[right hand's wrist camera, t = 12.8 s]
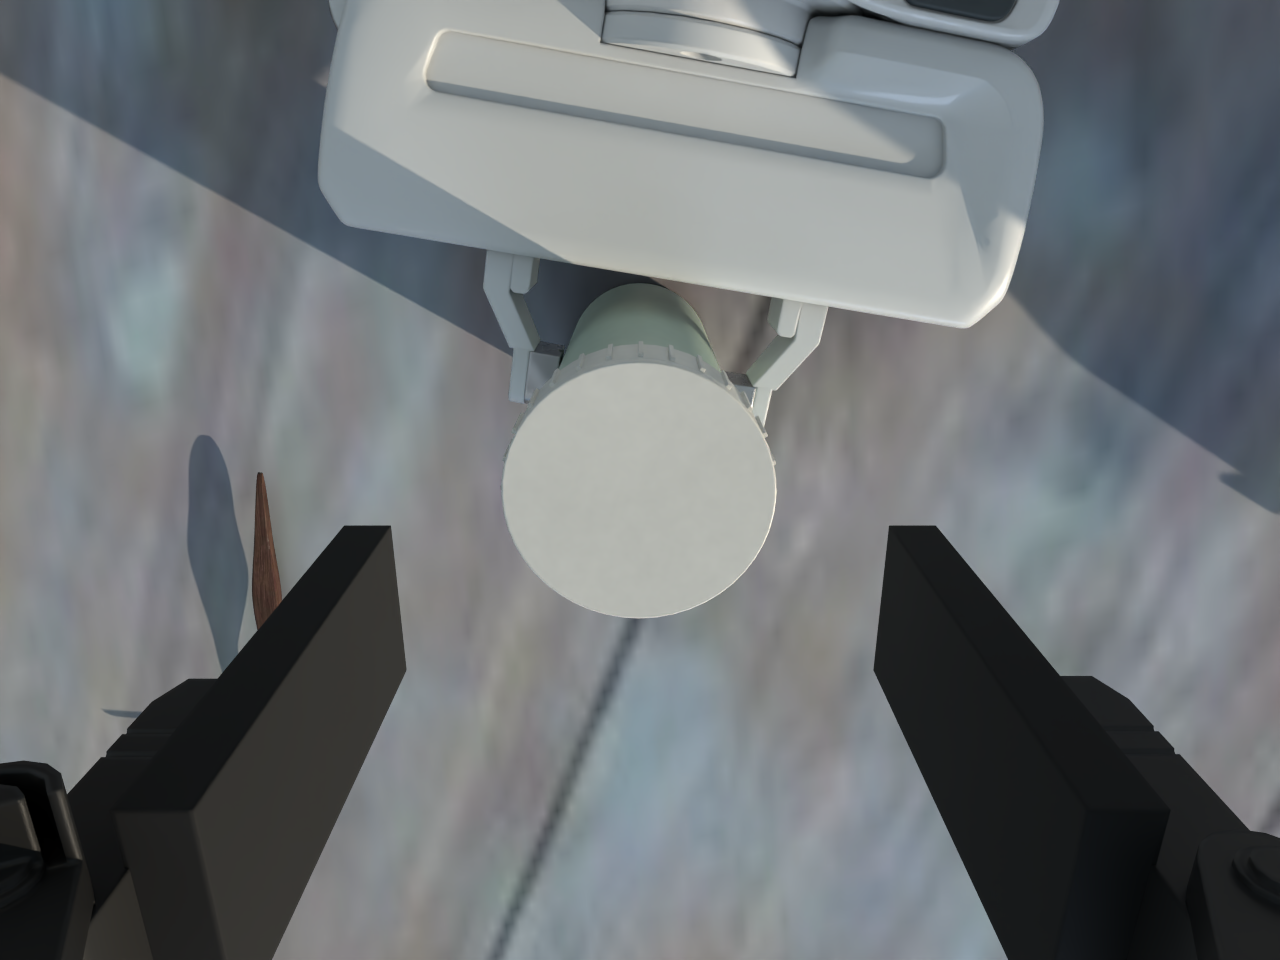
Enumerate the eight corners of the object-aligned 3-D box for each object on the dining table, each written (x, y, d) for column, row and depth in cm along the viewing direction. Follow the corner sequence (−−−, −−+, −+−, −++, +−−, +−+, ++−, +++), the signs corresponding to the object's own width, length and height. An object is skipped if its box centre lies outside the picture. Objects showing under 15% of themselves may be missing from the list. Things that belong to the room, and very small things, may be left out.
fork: (298, 471, 35) (278, 488, 33) (309, 787, 40) (293, 817, 38) (233, 465, 35) (210, 482, 33) (253, 783, 40) (234, 813, 38)
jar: (717, 292, 33) (777, 389, 18) (696, 424, 34) (736, 608, 20) (578, 274, 32) (529, 359, 18) (565, 408, 34) (511, 582, 20)
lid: (789, 358, 20) (804, 378, 18) (744, 596, 22) (753, 635, 20) (521, 324, 19) (508, 341, 18) (501, 568, 21) (489, 605, 20)
